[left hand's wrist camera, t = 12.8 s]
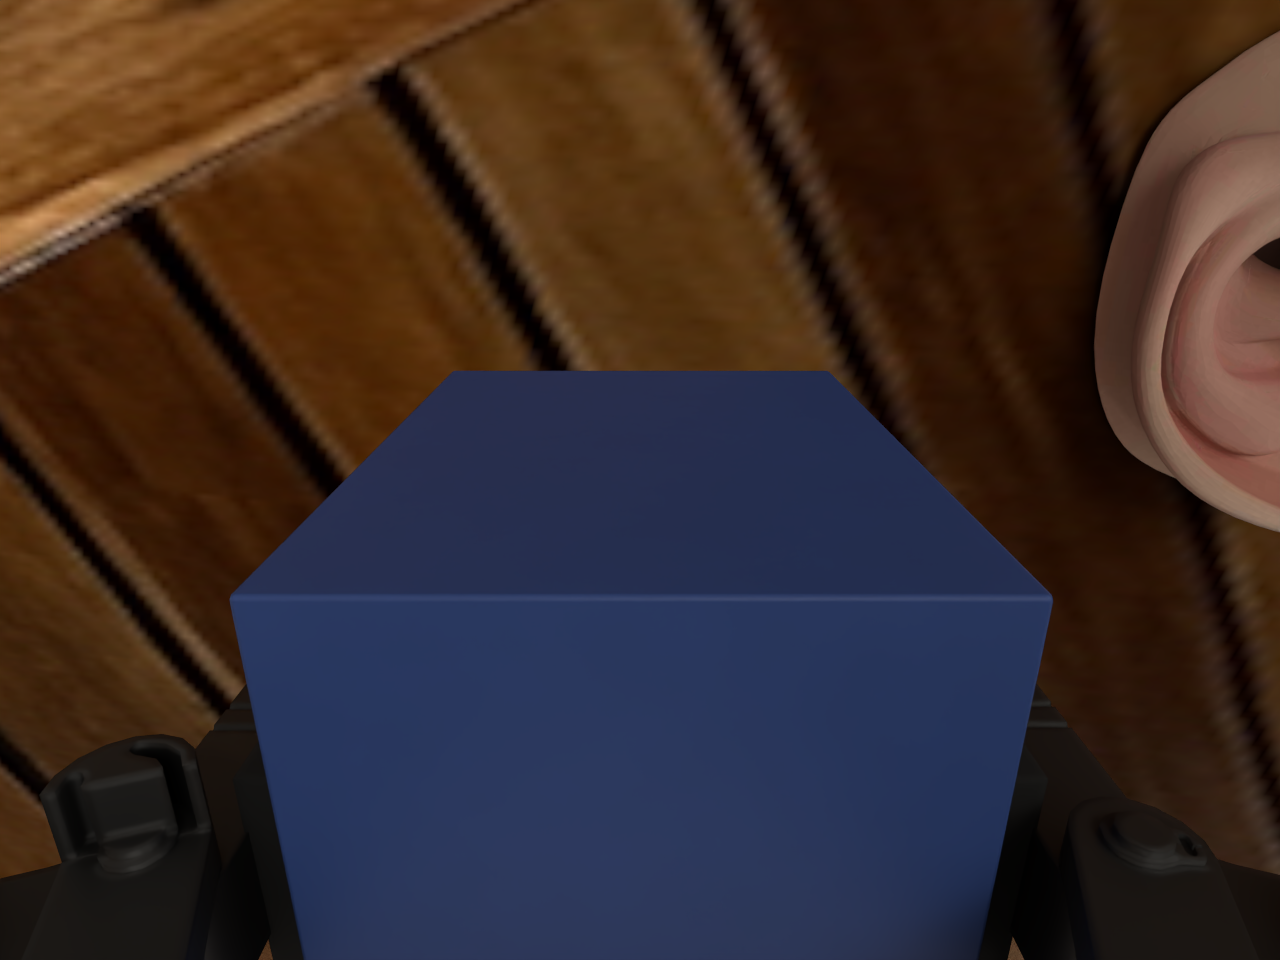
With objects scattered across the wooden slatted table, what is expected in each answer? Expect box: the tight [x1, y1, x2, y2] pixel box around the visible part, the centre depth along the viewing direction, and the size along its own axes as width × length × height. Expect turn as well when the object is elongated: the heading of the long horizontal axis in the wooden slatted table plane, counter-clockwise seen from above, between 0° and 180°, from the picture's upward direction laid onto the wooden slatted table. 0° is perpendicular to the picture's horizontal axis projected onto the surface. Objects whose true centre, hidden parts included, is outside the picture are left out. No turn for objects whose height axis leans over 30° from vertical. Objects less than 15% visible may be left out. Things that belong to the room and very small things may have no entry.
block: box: [230, 371, 1053, 960], centre depth 11 cm, size 7×7×8 cm
